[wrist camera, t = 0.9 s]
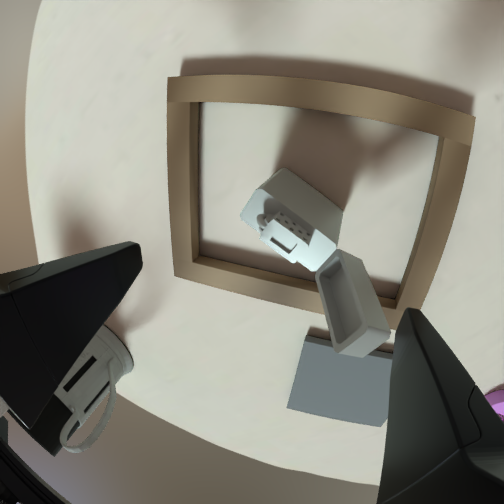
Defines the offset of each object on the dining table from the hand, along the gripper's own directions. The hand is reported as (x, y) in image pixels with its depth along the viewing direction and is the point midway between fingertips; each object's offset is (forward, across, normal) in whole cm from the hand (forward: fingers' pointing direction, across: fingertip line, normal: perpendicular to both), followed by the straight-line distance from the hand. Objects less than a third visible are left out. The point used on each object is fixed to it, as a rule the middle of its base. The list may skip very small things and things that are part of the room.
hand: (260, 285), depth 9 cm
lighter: (+9, -1, +1) cm, 9 cm away
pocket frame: (+8, 0, 0) cm, 8 cm away
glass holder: (+8, +18, +20) cm, 28 cm away
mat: (+8, -6, +14) cm, 17 cm away
